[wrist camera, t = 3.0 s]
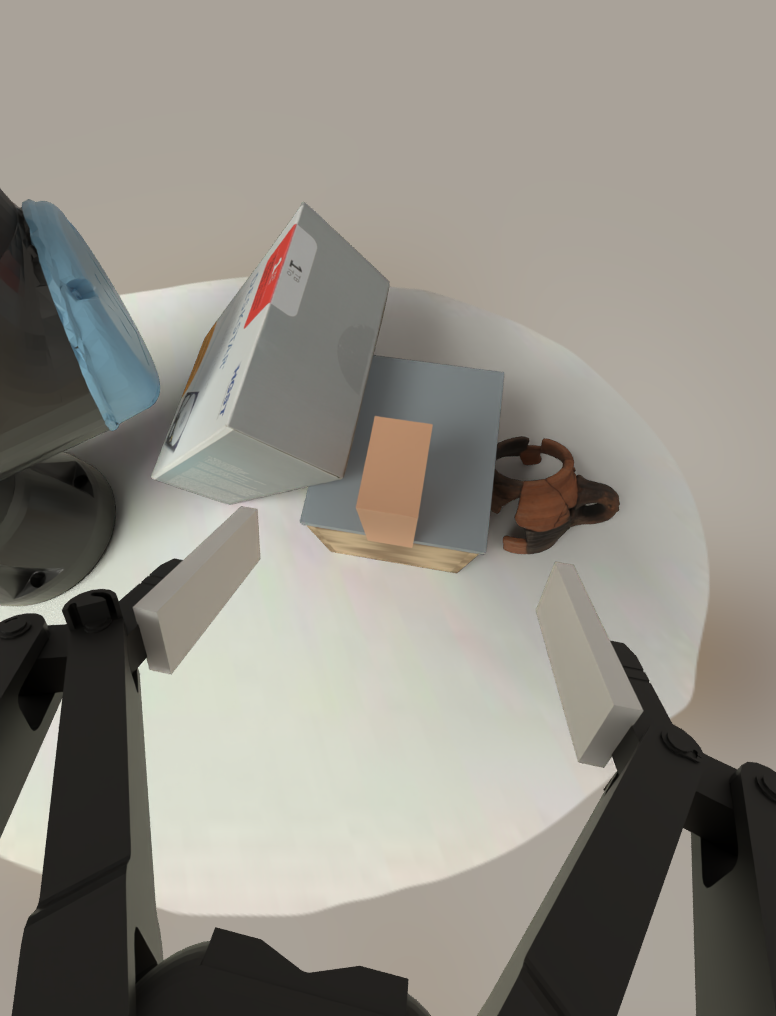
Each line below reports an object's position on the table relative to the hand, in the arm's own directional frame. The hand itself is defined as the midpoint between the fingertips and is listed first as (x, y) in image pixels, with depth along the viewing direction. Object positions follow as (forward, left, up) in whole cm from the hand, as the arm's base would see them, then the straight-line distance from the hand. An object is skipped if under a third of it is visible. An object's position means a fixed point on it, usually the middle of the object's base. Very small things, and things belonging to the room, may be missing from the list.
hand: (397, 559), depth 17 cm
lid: (-1, +9, -9) cm, 13 cm away
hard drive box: (-20, +13, -16) cm, 29 cm away
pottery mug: (+11, +10, -19) cm, 25 cm away
